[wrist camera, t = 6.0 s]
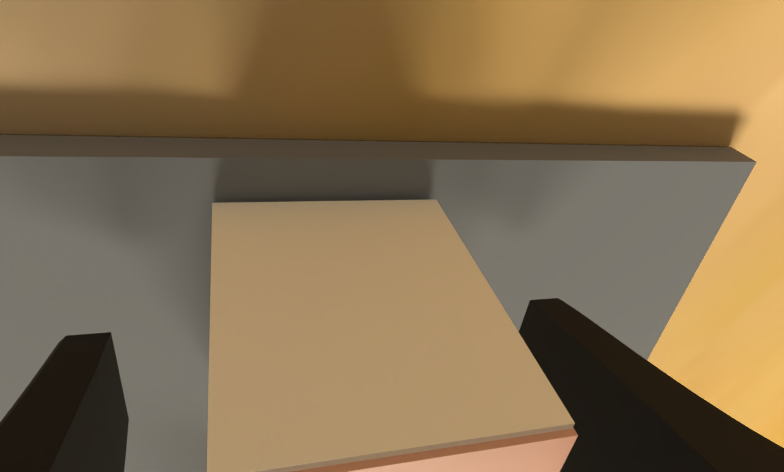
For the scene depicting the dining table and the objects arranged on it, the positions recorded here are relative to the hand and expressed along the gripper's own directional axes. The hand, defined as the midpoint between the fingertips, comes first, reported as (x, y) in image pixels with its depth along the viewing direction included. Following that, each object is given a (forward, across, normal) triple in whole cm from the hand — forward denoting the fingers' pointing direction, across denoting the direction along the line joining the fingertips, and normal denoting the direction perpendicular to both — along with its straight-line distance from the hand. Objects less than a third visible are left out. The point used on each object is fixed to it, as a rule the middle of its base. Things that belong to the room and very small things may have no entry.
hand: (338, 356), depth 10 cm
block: (+2, 0, 0) cm, 2 cm away
